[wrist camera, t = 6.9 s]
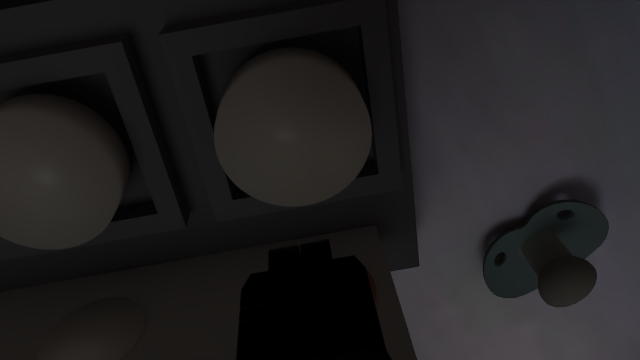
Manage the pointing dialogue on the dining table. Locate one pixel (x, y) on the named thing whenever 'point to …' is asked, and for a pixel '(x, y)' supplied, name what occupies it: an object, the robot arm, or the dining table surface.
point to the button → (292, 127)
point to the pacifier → (548, 254)
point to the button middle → (57, 172)
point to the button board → (195, 173)
